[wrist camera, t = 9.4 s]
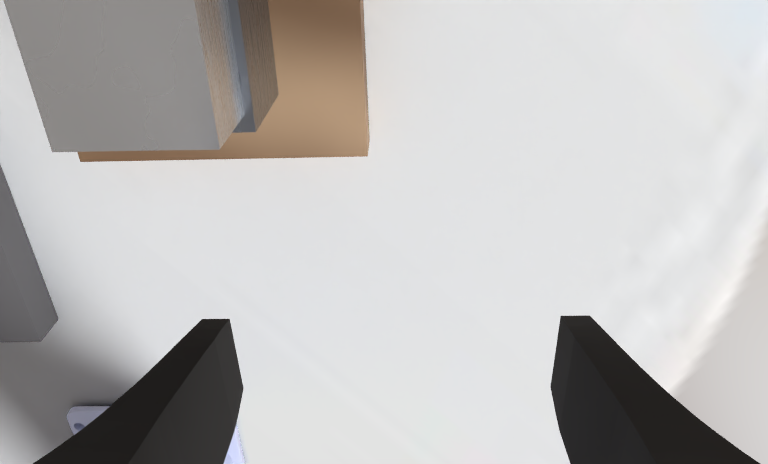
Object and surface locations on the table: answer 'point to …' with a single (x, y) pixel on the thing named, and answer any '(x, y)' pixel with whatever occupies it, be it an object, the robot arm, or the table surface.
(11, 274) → the stand
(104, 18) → the housing
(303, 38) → the stand
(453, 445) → the table surface
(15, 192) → the table surface
